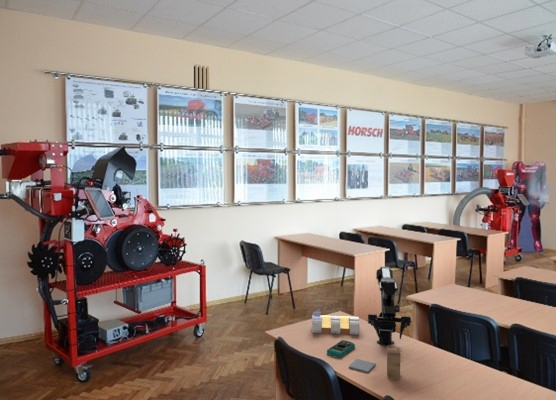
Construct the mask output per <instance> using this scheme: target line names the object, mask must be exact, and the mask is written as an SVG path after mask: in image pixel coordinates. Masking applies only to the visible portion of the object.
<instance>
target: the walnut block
mask: <svg viewBox="0 0 556 400" xmlns="http://www.w3.org/2000/svg"><path fill="white" fill-rule="evenodd" d="M401 356H402V355H401V350H400V348H397V347H396V348H395V347H387V348H386V375H387V378H388V379H393V380H401V363H402V362H401Z"/></svg>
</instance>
